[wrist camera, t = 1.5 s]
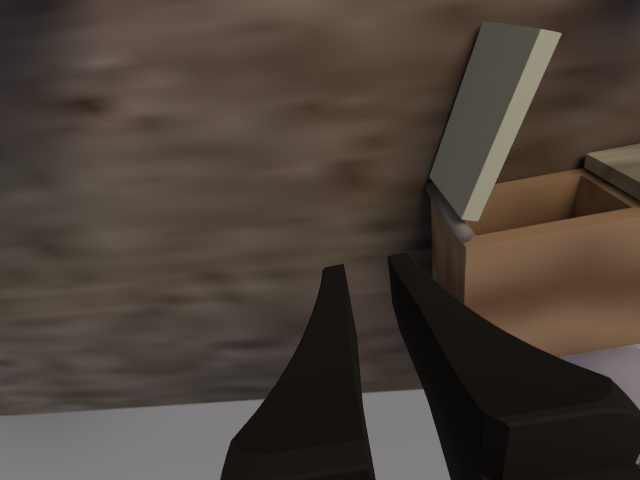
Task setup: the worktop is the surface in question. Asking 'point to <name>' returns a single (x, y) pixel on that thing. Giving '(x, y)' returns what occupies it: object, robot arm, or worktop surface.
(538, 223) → the cabinet
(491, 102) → the door
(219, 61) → the worktop surface
